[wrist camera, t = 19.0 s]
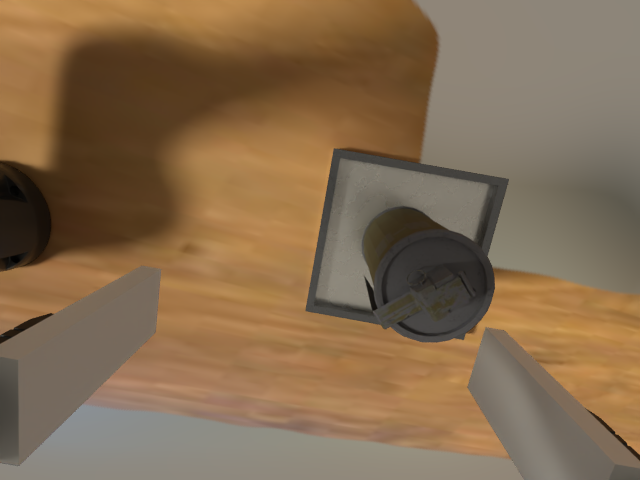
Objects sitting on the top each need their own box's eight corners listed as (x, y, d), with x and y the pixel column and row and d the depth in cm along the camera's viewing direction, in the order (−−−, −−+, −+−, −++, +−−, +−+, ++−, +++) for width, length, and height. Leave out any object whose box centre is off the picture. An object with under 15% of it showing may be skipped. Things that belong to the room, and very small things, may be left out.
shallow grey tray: (306, 305, 51) (305, 311, 49) (334, 149, 46) (333, 148, 44) (459, 333, 51) (463, 339, 49) (502, 178, 46) (509, 179, 44)
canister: (415, 191, 47) (470, 210, 27) (453, 257, 48) (532, 320, 29) (344, 234, 48) (347, 281, 29) (383, 296, 50) (412, 382, 30)
